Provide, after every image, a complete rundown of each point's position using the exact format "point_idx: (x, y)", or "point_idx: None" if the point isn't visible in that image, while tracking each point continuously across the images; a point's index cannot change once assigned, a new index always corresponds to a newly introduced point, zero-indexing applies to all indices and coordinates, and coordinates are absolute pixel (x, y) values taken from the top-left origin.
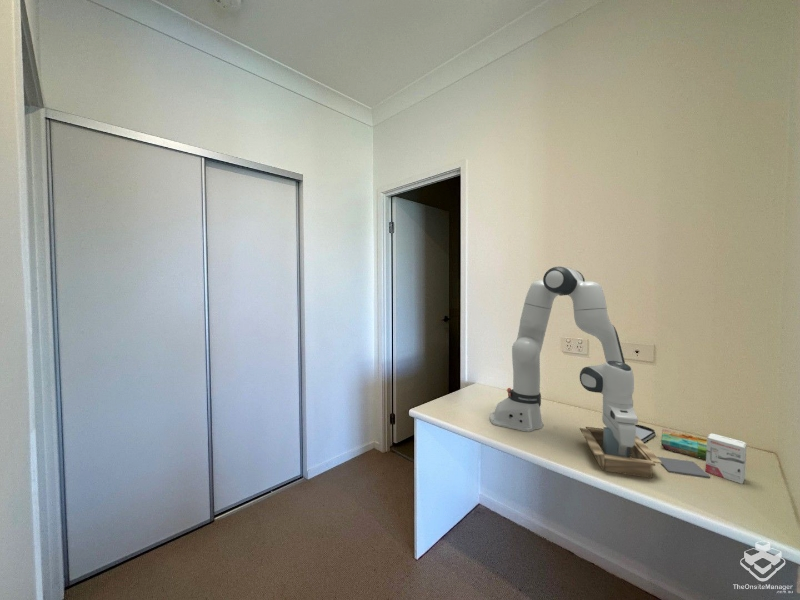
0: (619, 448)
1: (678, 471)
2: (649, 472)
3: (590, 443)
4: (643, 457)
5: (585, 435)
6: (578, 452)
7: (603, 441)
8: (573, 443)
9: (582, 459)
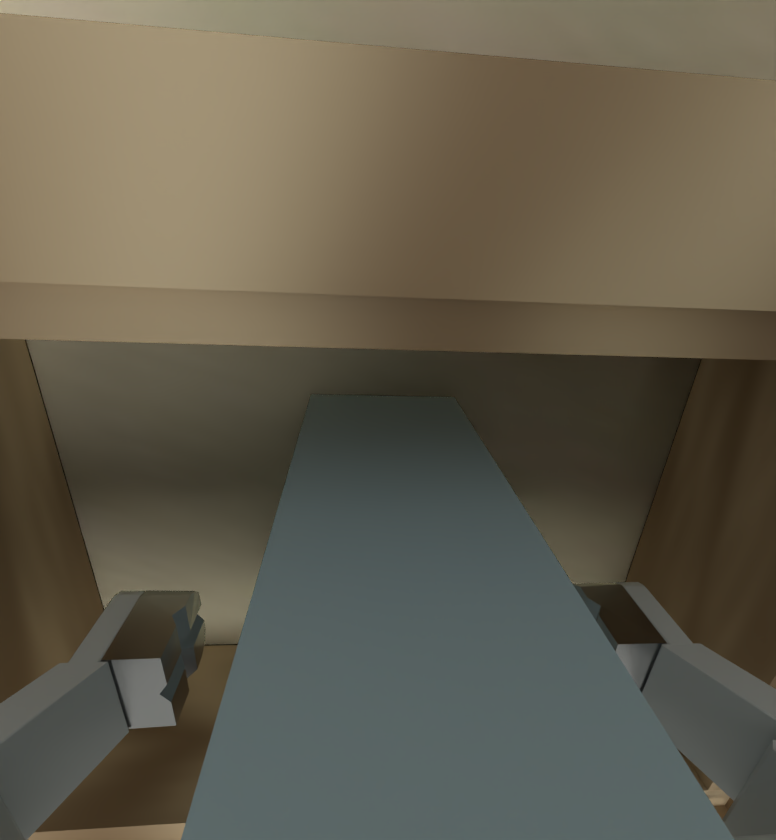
0: (24, 687)
1: None
2: None
3: (147, 84)
4: (158, 793)
5: (716, 119)
6: (432, 22)
7: (493, 490)
8: (749, 39)
9: (188, 11)
